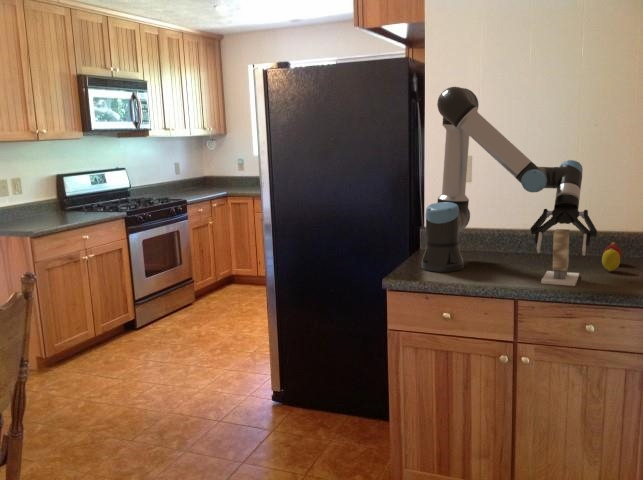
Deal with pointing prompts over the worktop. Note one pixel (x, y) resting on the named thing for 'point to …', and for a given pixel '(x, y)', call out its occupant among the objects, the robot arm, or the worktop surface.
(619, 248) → the onion
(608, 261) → the lemon
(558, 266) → the tan wooden block
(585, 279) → the worktop surface
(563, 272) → the peg rest
